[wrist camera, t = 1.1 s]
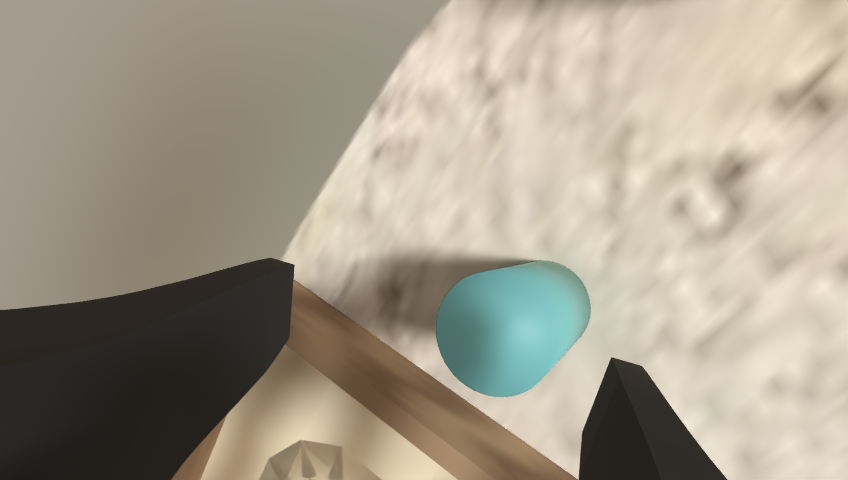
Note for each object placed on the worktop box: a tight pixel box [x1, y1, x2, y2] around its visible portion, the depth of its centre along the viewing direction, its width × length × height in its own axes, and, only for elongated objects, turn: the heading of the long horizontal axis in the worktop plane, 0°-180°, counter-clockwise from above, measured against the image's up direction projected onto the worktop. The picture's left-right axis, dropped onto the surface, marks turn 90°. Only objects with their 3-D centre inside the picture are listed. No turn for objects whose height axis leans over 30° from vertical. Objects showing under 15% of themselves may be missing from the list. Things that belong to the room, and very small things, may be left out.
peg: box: [436, 261, 591, 397], centre depth 20 cm, size 4×4×7 cm
